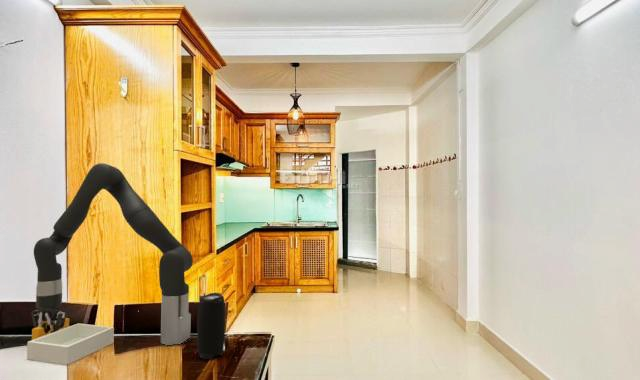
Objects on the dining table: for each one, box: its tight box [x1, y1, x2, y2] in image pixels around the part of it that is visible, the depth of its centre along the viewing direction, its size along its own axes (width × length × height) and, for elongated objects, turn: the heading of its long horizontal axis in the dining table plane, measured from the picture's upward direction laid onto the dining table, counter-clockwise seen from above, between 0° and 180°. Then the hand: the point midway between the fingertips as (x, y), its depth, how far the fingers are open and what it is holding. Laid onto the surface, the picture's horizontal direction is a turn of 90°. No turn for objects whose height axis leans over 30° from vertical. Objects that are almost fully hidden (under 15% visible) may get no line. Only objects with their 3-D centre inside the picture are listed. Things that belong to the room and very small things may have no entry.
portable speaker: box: [196, 292, 226, 360], centre depth 119 cm, size 9×9×20 cm
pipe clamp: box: [31, 317, 70, 340], centre depth 129 cm, size 12×4×6 cm, turn 168°
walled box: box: [26, 323, 115, 366], centre depth 121 cm, size 16×18×6 cm
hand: (48, 339), depth 129 cm, fingers closed on pipe clamp, 4 cm apart
